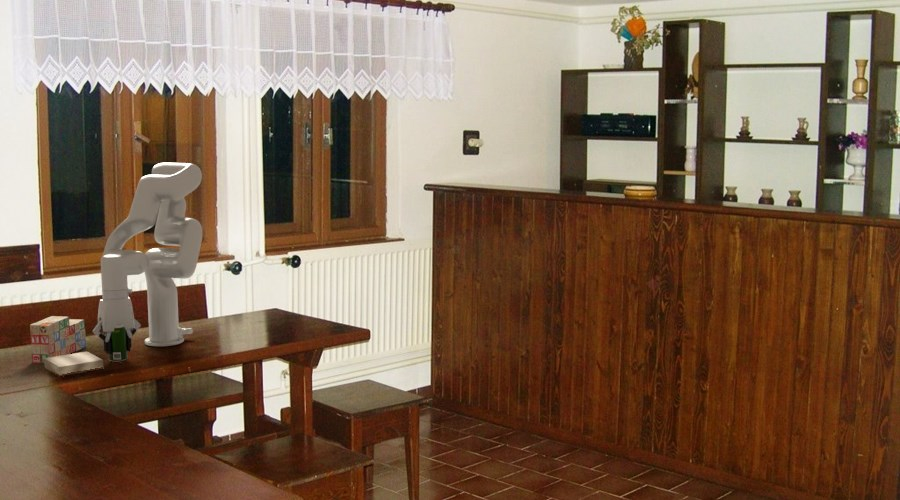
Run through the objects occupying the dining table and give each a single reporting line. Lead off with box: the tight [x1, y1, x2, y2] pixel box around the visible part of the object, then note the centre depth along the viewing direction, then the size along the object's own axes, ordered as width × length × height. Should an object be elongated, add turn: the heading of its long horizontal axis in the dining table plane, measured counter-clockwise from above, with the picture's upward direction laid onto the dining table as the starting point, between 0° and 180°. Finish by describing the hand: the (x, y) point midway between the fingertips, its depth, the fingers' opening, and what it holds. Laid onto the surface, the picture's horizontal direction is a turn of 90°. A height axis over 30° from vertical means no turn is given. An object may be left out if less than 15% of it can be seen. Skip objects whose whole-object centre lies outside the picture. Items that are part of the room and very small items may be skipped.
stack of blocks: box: [29, 315, 87, 364], centre depth 330 cm, size 21×6×12 cm, turn 170°
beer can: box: [108, 324, 128, 362], centre depth 323 cm, size 5×5×12 cm
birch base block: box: [44, 351, 104, 375], centre depth 314 cm, size 13×13×3 cm
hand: (118, 351), depth 323 cm, fingers closed on beer can, 5 cm apart
